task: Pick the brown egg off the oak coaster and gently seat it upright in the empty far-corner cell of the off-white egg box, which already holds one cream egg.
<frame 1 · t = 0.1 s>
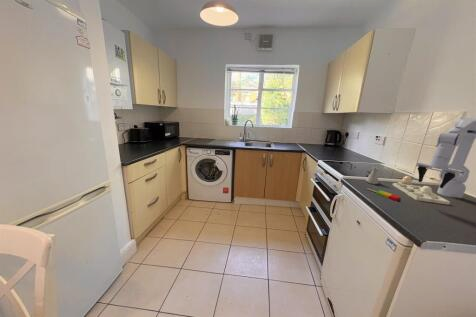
hand: (430, 184, 90), 11 cm above the counter, tool pointing down, fingers open, 7 cm apart
egg: (405, 183, 120), point 1 cm above the counter, touching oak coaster
egg box: (417, 194, 105), on the counter
popsicle: (381, 195, 101), on the counter
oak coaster: (405, 185, 120), on the counter
flask: (371, 183, 119), on the counter
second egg: (424, 194, 104), point 1 cm above the counter, touching egg box
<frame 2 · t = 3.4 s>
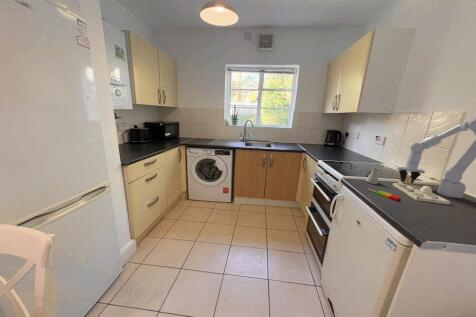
hand: (406, 182, 120), 2 cm above the counter, tool pointing down, fingers closed on egg, 4 cm apart
egg: (405, 183, 120), point 1 cm above the counter, touching gripper, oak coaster
everything else where it was.
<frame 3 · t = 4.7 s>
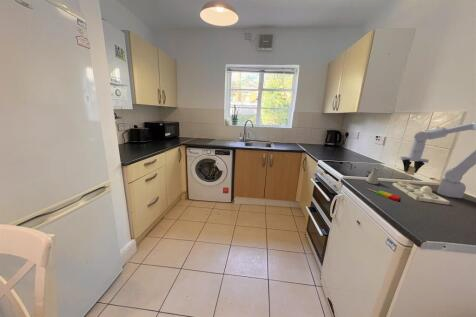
hand: (409, 171, 118), 9 cm above the counter, tool pointing down, fingers closed on egg, 4 cm apart
egg: (409, 173, 118), point 8 cm above the counter, touching gripper
everything else where it was.
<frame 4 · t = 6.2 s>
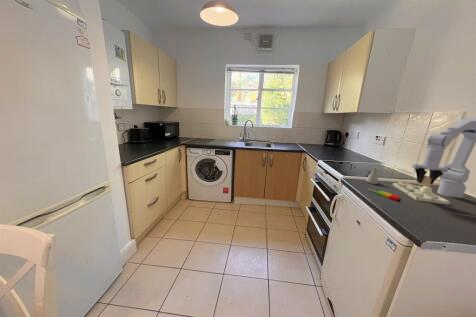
hand: (424, 183, 97), 9 cm above the counter, tool pointing down, fingers closed on egg, 4 cm apart
egg: (423, 185, 97), point 8 cm above the counter, touching gripper
everything else where it was.
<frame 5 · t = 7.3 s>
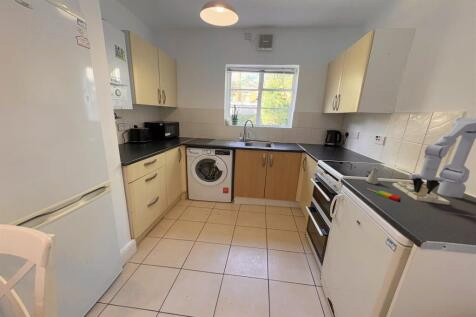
hand: (421, 192, 98), 4 cm above the counter, tool pointing down, fingers closed on egg, 4 cm apart
egg: (420, 194, 98), point 2 cm above the counter, touching gripper
everything else where it was.
when the fingers open (3 cm above the counter, at t = 8.2 s): egg drops 1 cm, resting on egg box.
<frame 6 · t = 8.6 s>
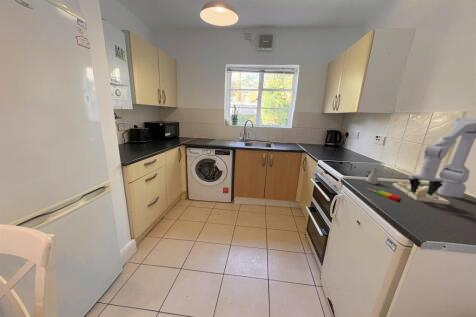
hand: (421, 193, 98), 3 cm above the counter, tool pointing down, fingers open, 7 cm apart
egg: (419, 197, 99), point 1 cm above the counter, touching egg box
everything else where it was.
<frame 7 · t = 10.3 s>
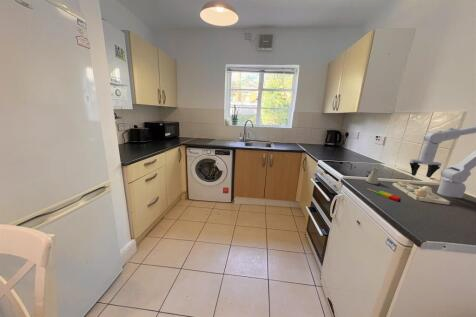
hand: (420, 176, 109), 9 cm above the counter, tool pointing down, fingers open, 7 cm apart
nothing on the counter moved.
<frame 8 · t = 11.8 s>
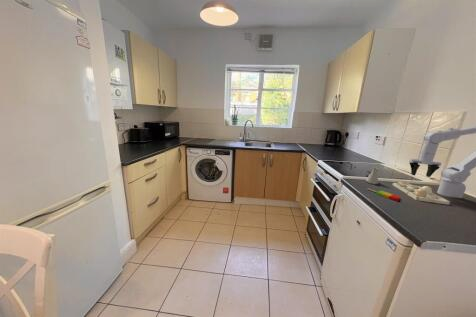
hand: (420, 175, 109), 9 cm above the counter, tool pointing down, fingers open, 7 cm apart
nothing on the counter moved.
at the end: egg 0.1 cm from the target spot on the egg box, point 0.6 cm above the egg box's base; egg tilted 0°; the gripper is holding nothing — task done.
